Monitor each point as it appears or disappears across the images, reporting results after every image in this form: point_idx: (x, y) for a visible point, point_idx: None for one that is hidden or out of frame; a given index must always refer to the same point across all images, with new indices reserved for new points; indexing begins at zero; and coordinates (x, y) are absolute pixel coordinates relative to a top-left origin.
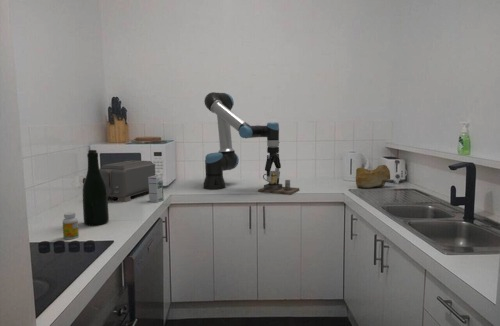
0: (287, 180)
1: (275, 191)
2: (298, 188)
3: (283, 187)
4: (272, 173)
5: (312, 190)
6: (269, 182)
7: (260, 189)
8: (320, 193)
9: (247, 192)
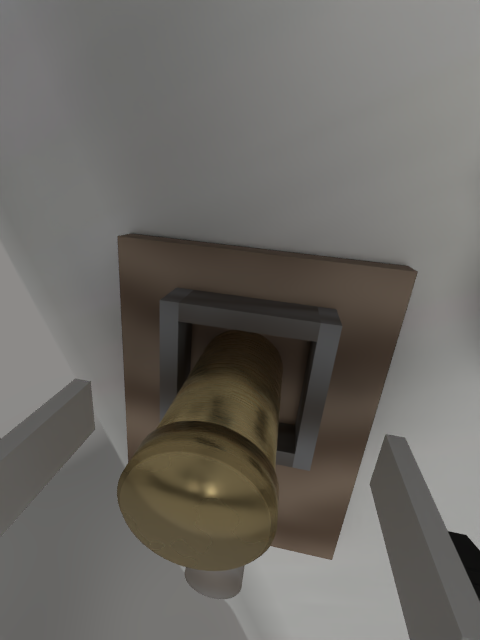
0: (196, 578)
1: (127, 411)
2: (310, 554)
3: (327, 448)
4: (147, 515)
5: (351, 608)
6: (191, 373)
7: (137, 259)
8: (257, 635)
9: (59, 123)
